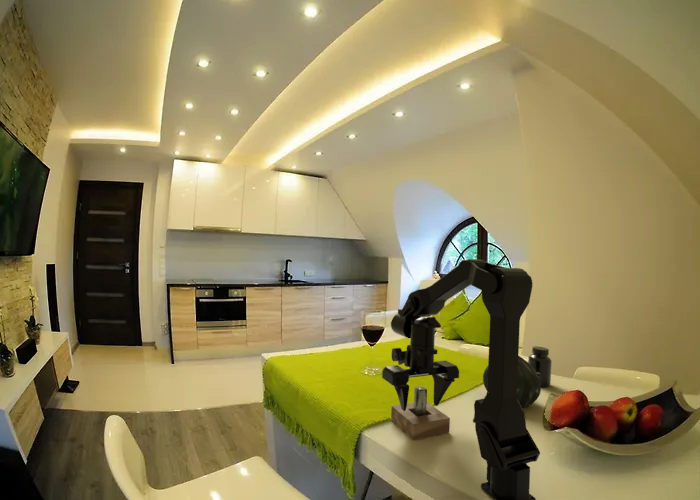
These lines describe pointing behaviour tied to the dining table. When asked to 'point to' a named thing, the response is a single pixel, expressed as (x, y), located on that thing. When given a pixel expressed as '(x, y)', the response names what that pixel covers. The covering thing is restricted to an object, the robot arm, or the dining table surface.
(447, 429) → the hole block
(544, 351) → the supplement bottle
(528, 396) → the squash
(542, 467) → the dining table surface
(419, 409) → the pin
